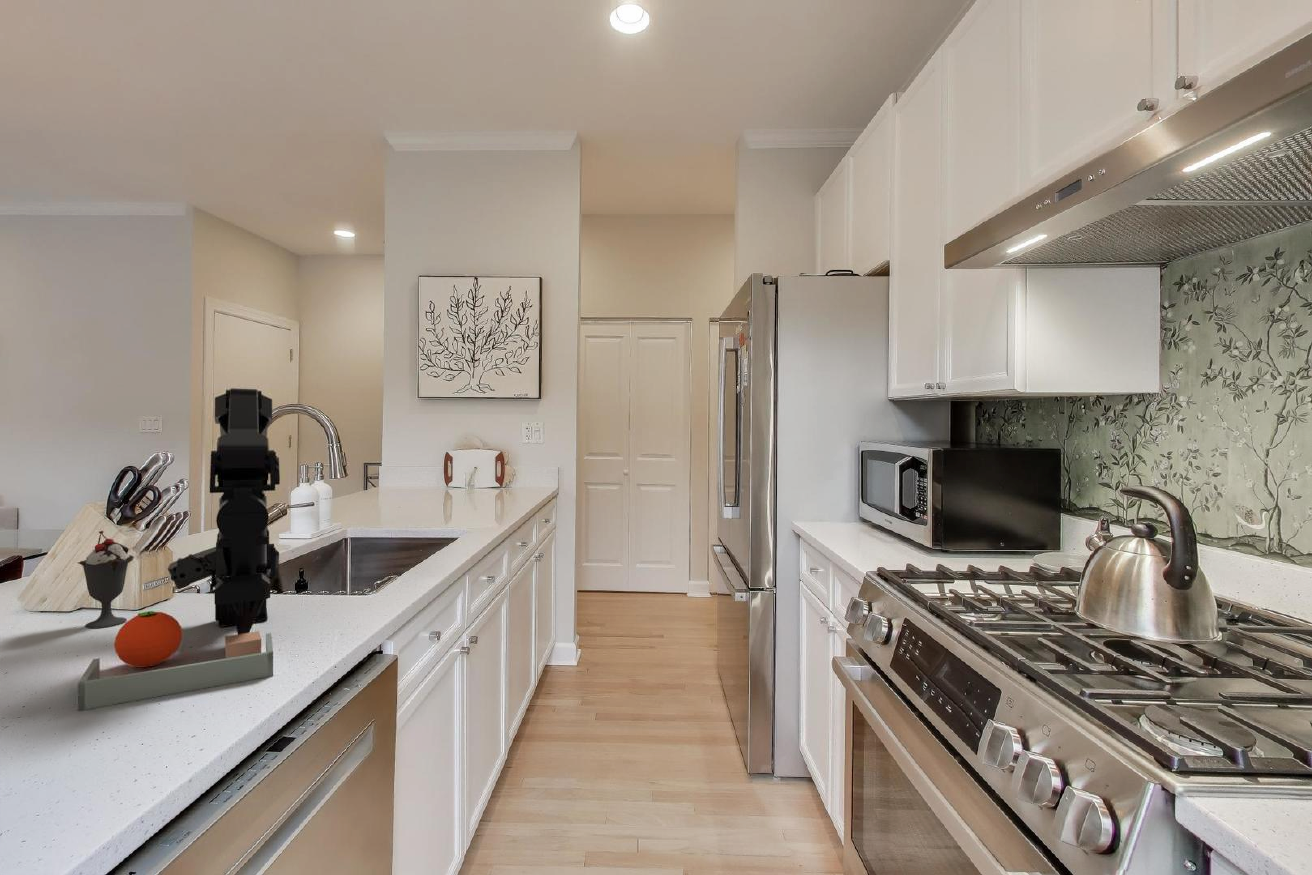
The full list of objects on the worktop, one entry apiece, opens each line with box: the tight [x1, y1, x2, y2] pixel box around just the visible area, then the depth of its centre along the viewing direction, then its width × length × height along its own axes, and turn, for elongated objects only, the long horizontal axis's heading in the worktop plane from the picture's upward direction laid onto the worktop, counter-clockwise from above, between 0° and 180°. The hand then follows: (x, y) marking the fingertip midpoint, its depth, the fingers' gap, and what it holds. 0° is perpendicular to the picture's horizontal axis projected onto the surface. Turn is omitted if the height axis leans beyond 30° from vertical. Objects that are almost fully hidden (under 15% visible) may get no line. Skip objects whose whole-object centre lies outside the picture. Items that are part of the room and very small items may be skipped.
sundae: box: [77, 530, 134, 629], centre depth 97 cm, size 7×7×15 cm
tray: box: [77, 632, 274, 712], centre depth 78 cm, size 18×8×3 cm, turn 123°
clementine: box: [114, 610, 183, 668], centre depth 82 cm, size 8×7×7 cm
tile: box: [224, 630, 262, 659], centre depth 86 cm, size 4×4×2 cm
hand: (243, 636), depth 90 cm, fingers closed
